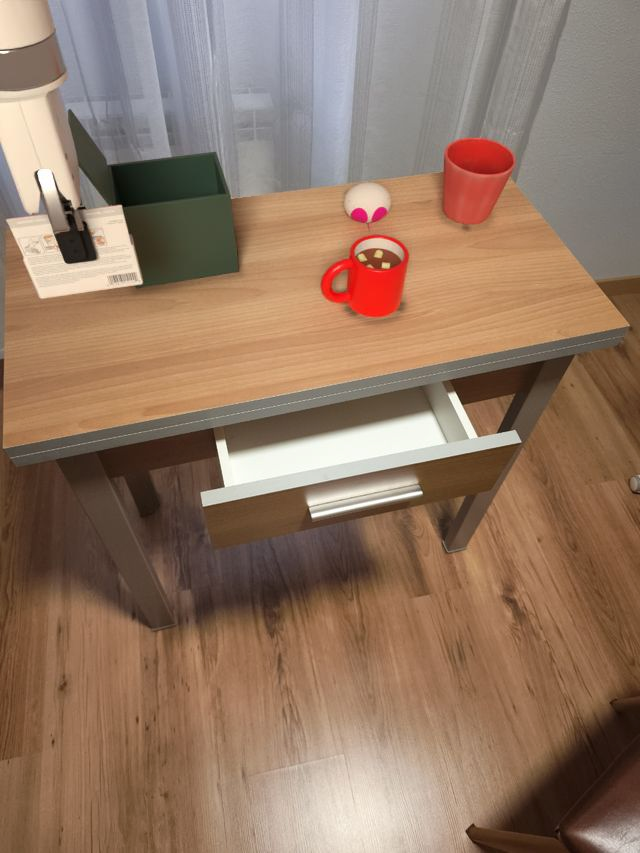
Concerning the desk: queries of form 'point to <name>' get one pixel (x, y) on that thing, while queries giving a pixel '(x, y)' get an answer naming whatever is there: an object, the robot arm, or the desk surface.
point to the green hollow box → (177, 216)
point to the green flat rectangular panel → (90, 158)
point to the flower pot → (474, 178)
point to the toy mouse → (367, 202)
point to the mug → (370, 276)
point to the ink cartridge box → (62, 279)
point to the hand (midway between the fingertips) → (80, 250)
